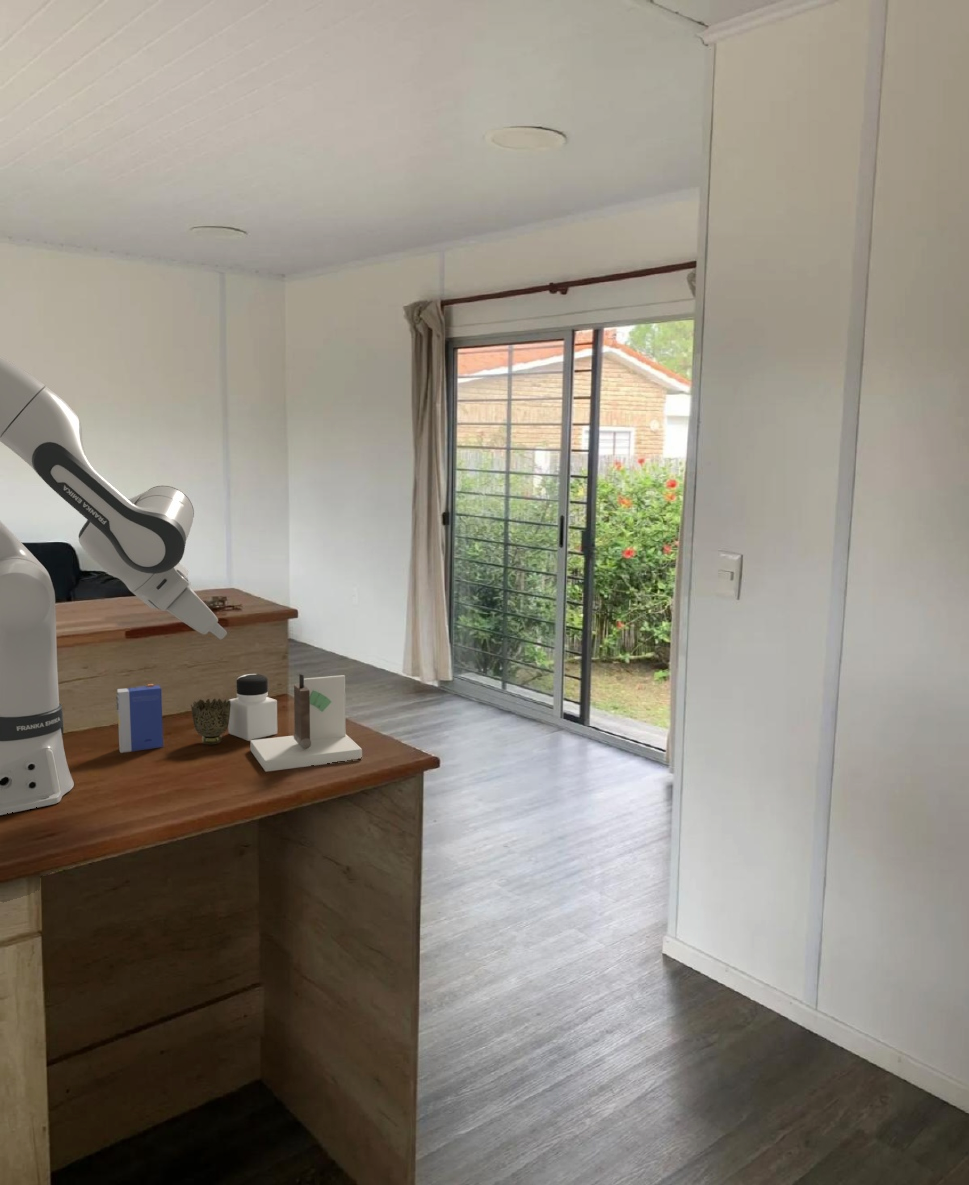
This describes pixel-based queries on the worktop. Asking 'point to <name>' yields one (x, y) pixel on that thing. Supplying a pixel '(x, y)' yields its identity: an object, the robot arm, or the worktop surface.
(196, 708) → the cup
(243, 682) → the medicine bottle
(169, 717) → the worktop surface
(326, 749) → the stand
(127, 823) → the worktop surface
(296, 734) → the lever
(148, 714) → the walkman
